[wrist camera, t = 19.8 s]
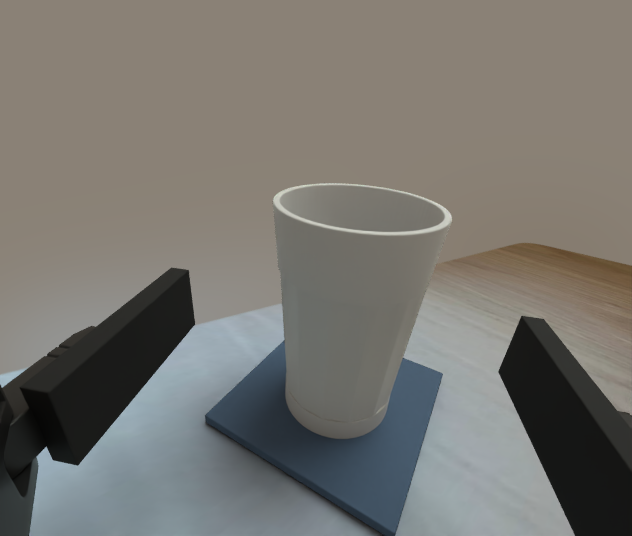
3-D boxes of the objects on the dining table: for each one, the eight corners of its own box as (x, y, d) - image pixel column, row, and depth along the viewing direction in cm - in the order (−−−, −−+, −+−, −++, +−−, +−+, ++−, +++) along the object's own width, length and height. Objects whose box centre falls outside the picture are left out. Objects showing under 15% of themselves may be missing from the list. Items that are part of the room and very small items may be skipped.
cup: (418, 454, 17) (487, 240, 12) (264, 452, 17) (262, 228, 11) (385, 351, 24) (419, 188, 19) (277, 347, 24) (279, 179, 18)
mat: (205, 422, 19) (204, 415, 18) (305, 325, 27) (305, 319, 27) (392, 541, 14) (395, 534, 14) (440, 379, 23) (443, 373, 23)
